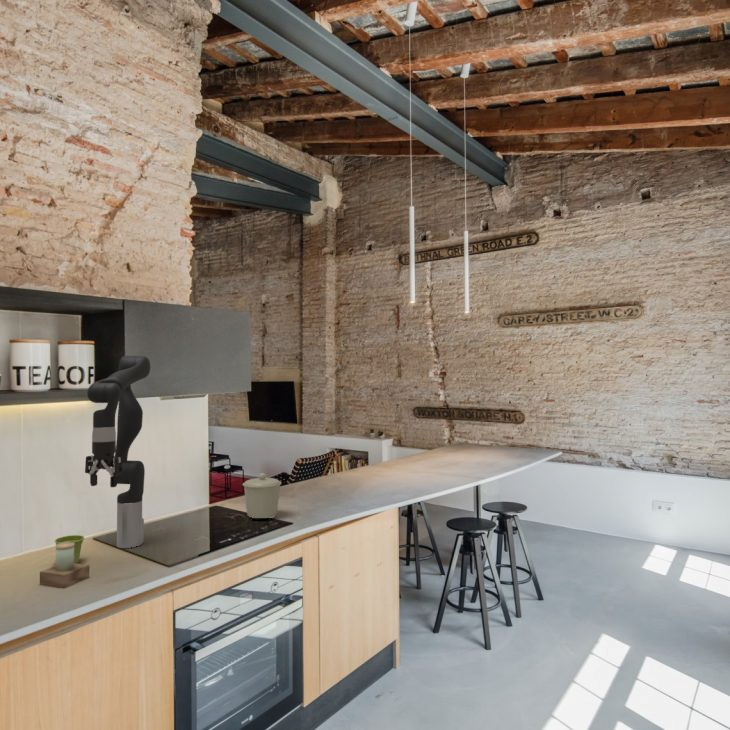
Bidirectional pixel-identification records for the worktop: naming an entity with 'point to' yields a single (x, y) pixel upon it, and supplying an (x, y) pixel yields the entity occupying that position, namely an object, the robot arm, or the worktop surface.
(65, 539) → the plant pot
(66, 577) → the plinth
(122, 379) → the robot arm
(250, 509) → the canister
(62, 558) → the jar
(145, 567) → the worktop surface
